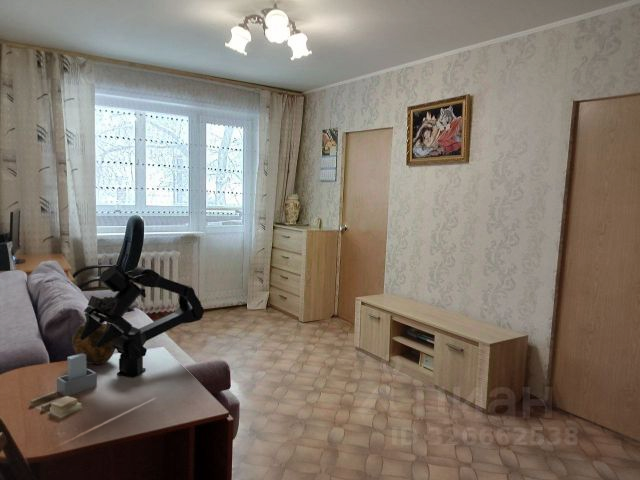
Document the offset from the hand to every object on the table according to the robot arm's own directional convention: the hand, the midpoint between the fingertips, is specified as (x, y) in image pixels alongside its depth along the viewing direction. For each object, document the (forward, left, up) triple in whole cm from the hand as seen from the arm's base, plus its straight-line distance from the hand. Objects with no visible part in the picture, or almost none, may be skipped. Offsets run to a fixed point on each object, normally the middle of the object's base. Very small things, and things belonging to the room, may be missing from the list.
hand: (88, 343), depth 138 cm
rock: (+10, -15, -14) cm, 23 cm away
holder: (+1, +3, -14) cm, 14 cm away
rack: (-1, +14, -14) cm, 20 cm away
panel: (+1, +3, -13) cm, 13 cm away
